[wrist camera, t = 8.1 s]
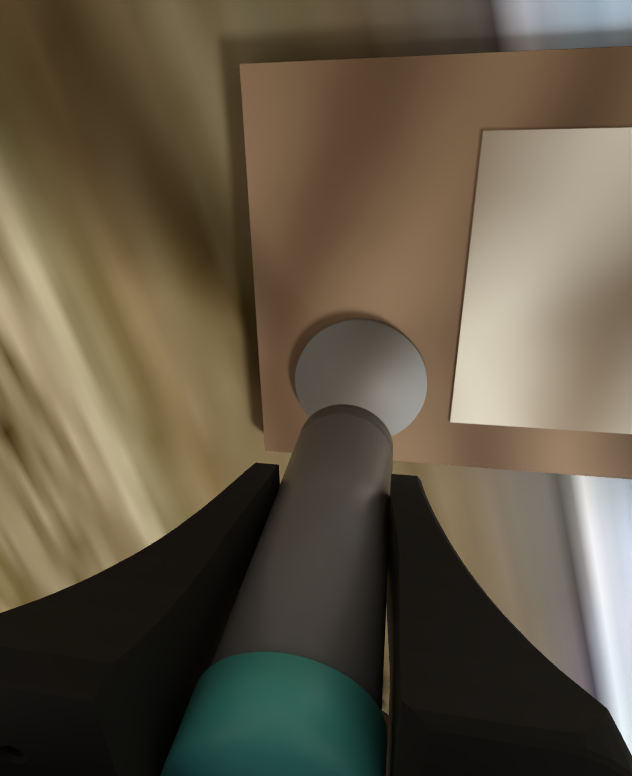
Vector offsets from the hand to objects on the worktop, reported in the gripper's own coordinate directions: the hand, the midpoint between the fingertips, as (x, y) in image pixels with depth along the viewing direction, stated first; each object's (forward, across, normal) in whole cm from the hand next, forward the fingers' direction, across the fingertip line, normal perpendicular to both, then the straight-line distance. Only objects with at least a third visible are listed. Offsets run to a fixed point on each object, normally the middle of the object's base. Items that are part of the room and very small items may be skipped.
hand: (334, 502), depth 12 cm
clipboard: (+9, -6, -4) cm, 11 cm away
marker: (+3, 0, 0) cm, 3 cm away
